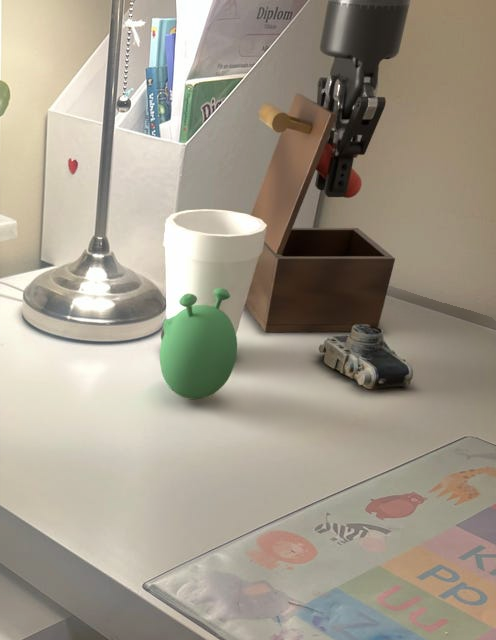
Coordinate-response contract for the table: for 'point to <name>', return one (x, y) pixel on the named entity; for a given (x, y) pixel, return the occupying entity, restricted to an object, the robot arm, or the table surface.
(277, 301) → the bin
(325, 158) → the red pill shape
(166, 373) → the alien toy
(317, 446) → the table surface
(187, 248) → the foam cup
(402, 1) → the robot arm
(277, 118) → the bin lid
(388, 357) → the camera
